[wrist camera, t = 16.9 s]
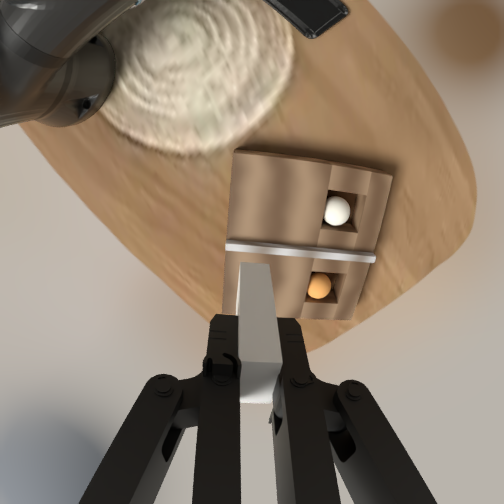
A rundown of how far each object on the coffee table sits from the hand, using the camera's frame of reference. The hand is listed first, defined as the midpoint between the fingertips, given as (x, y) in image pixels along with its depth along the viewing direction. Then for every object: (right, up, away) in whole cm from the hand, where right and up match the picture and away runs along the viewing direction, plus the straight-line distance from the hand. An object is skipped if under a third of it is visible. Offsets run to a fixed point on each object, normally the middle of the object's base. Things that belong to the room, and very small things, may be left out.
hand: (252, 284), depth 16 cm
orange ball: (+10, -3, +29) cm, 31 cm away
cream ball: (+11, +7, +23) cm, 27 cm away
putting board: (+7, +4, +28) cm, 29 cm away
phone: (+5, +36, +11) cm, 38 cm away
